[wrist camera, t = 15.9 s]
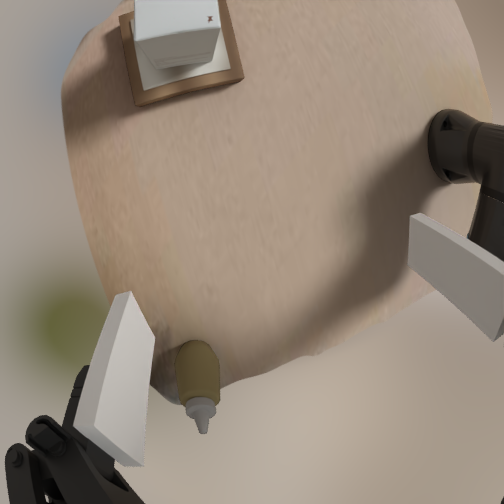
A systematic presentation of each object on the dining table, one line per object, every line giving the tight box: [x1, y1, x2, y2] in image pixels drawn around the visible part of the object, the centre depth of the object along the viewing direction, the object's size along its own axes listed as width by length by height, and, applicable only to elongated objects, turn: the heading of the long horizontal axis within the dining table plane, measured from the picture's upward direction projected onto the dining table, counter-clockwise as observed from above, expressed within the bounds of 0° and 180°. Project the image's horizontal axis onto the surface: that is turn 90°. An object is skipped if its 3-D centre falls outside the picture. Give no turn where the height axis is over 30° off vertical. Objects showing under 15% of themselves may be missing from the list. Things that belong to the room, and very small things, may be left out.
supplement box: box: [134, 0, 221, 70], centre depth 21 cm, size 7×7×13 cm
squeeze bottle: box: [174, 340, 220, 434], centre depth 42 cm, size 8×8×18 cm
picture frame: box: [119, 0, 244, 107], centre depth 28 cm, size 14×14×3 cm
